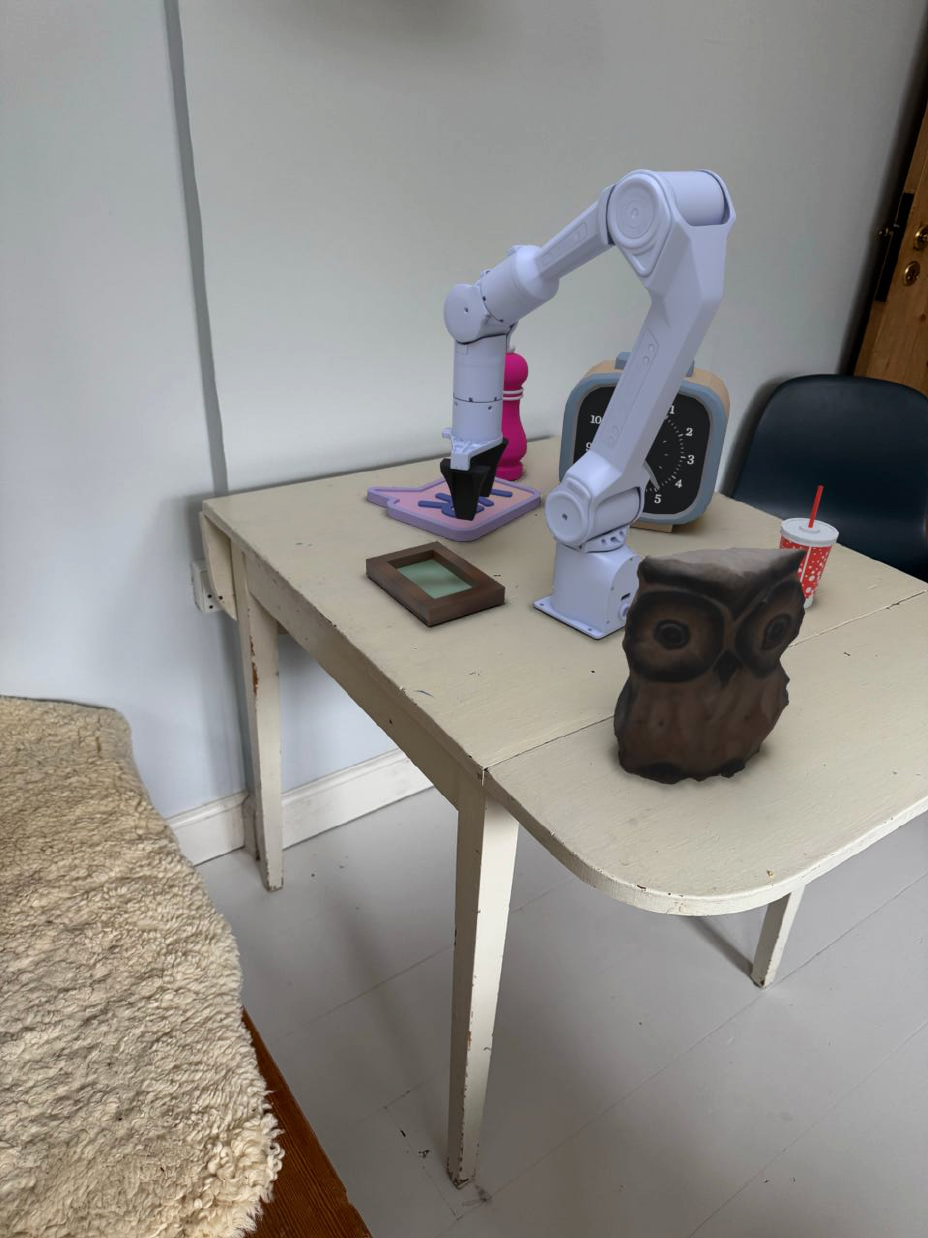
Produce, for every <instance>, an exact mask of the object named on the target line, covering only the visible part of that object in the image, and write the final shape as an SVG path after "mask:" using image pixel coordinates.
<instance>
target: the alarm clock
mask: <svg viewBox="0 0 928 1238" xmlns="http://www.w3.org/2000/svg"><path fill="white" fill-rule="evenodd" d="M630 353H631V351H620V353H619V354H618V355H617V356H616V358H615V359H610V360H609V359H608V360H602V361H601V362H598V363H597V364H595V365H592V367H591V368H590V369H589V370H588V371H587V372H586V373H585V374H584V375H583V377H582V378H581V379H580V380H579V382H578V383H576V385H575V386H574V387H573V388H572V390H571V391H570V393H569V395H568V398H567V400H566V402H565V406H564V410H563V418H562V427H561V428H562V429H561V439H560V448H559V449H560V450H559V460H558V480H559V481H558V482H559V484H560V483H561V482H562V480H563V478H564V476H565V474H566V472H567V471H568V470H569V469H570V468H571V467H572V466H573V465H574V464H575V463H576V462H577V461H578V460H579V459H580V458H581V457H582V456H583V455H585V454H586V453H587V452H588V450H589V449H590V447H591V444H592V442H593V440H594V437H595V435H596V433H597V430H598V428H599V426H600V423H601V421H602V419H603V416H604V414H605V412H606V409H607V407H608V405H609V402H610V400H611V398H612V395H613V393H614V391H615V388H616V386H617V384H618V381H619V379H620V377H621V374H622V372H623V370H624V367H625V365H626V363H627V360H628V358H629V356H630ZM695 363H696V361H695V360H693V362H692V364H691V366H690V368H689V370H688V372H687V374H686V376H685V378H684V380H683V382H682V384H681V386H680V388H679V390H678V392H677V395H676V397H675V399H674V401H673V403H672V405H671V407H670V409H669V411H668V413H667V415H666V417H665V419H664V421H663V423H662V425H661V427H660V429H659V431H658V433H657V436H656V438H655V440H654V442H653V444H652V446H651V448H650V450H649V452H648V454H647V456H646V458H645V460H644V462H643V466H644V467H645V469H646V470H647V472H648V473H649V475H650V479H649V481H648V483H647V485H646V488H645V493H644V508H643V511H642V513H641V515H640V517H639V518H638V519H637V520H636V521H635V522H633V523H631V524H630V527H633V528H639V529H644V530H645V529H646V530H652V531H659V532H665V533H672V530H673V526H674V525H685V524H687V523H689V522H692V521H695V520H697V519H698V518H699V517H700V516H701V515H702V514H703V513H705V512H706V510H707V509H708V507H709V505H710V503H711V502H712V499H713V496H714V493H715V490H716V484H717V479H718V475H719V470H720V465H721V458H722V454H723V449H724V444H725V438H726V434H727V428H728V423H729V418H730V410H731V409H730V408H731V400H730V394H729V390H728V388H727V386H726V384H725V382H724V380H722V379H721V378H720V377H718V376H717V375H716V374H715V373H714V372H713V371H710V370H705V369H702V368H698V367H695Z"/></svg>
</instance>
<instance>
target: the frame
mask: <svg viewBox="0 0 928 1238" xmlns="http://www.w3.org/2000/svg"><path fill="white" fill-rule="evenodd" d="M365 575H366V576H368V577H369V578H371V580H373V581H374V582H375V583H377V585H379V586H380V587H381V588H382V589H384V590H385V591H386V592H387V593H389V595H391V596H392V597H393V598H395V599H396V600H397V601H398V602H399V603H400V604H401V605H403V606H404V607H405V608H406V609H408V610H409V611H411V613H413V614H414V615H415V616H416V617H418V618H419V619H420V620H421V621H423V622H424V623H425V624H426V625H427V626H429V627H430V626H434V625H437V624H440V623H444V622H447V621H450V620H453V619H456V618H459V617H462V616H465V615H469V614H472V613H475V612H477V611H482V610H485V609H489V608H491V607H495V606H497V605H501V604H505V597H506V587H505V585H504V584H501V582H499V581H497V580H495V579H494V578H493V577H491V576H490V575H488V574H487V573H485V572H484V571H483V570H481V569H480V568H478V567H476V566H475V565H473V564H472V563H471V562H469V561H468V560H466V559H465V558H463V557H462V556H460V555H459V554H458V553H456V552H454V550H451V549H450V548H449V547H447V546H446V545H445V544H442V543H441V542H439V541H438V540H436V541H431V542H428V543H424V544H420V545H416V546H412V547H408V548H404V549H400V550H397V551H392V552H388V553H384V554H381V555H376V556H372V557H368V558H365Z"/></svg>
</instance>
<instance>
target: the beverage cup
mask: <svg viewBox="0 0 928 1238" xmlns="http://www.w3.org/2000/svg"><path fill="white" fill-rule="evenodd" d="M823 489H824V486H823V485H818V486H817V491H816V495H815V499H814V502H813V506H812V510H811V513H810V517H809V518H805V517H794V518H792V517H791V518H787V519H785V520H782V522H781V524H780V530H779V533H780V540H779V547H778V549H784V548H785V549H792V548H796V549H800V548H804V549H806V551H807V553H806V555H805V557H804V559H803V560H802V562H801V564H800V567H799V570H798V577H799V579H800V581H801V584H802V589H803V592H804V594H805V598H806V601H805V604H804V609H809V607H811V606H812V603H813V600H814V599H815V595H816V592H817V589H818V586H819V584H820V581H821V578H822V576H823V573H824V570H825V568H826V564H827V561H828V559H829V556H830V553H831V552H832V551H831V550H832V548H833V546H834V545H835V544H836V543H837V540H838V537H839V535H840V532H839V531H838V529H836V528H835V527H834V526H833V525H831V524H829V523H826V522H824V521H821V520H817V519H816V515H817V512H818V508H819V504H820V501H821V497H822V493H823Z"/></svg>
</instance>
